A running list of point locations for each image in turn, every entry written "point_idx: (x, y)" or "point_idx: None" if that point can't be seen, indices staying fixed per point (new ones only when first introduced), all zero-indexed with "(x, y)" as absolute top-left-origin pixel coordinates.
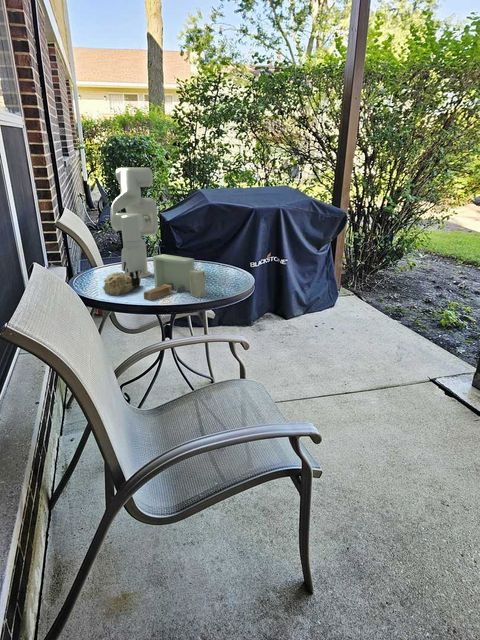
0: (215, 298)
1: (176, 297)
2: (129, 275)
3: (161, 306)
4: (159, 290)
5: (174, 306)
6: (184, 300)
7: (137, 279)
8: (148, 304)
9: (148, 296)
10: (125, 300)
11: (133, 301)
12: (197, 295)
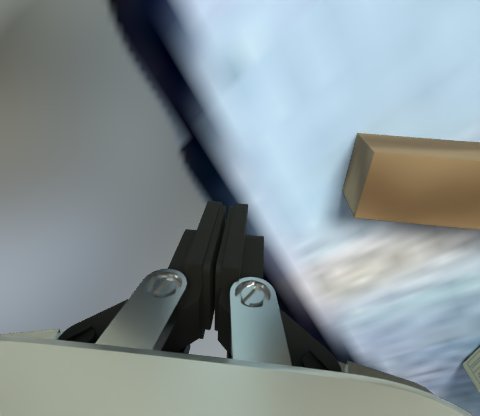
0: (470, 402)
1: (451, 281)
2: (100, 322)
3: None
4: (466, 226)
5: None
6: (405, 328)
7: (212, 318)
8: (269, 222)
9: (352, 188)
10: (267, 15)
11: (276, 99)
12: (475, 366)
